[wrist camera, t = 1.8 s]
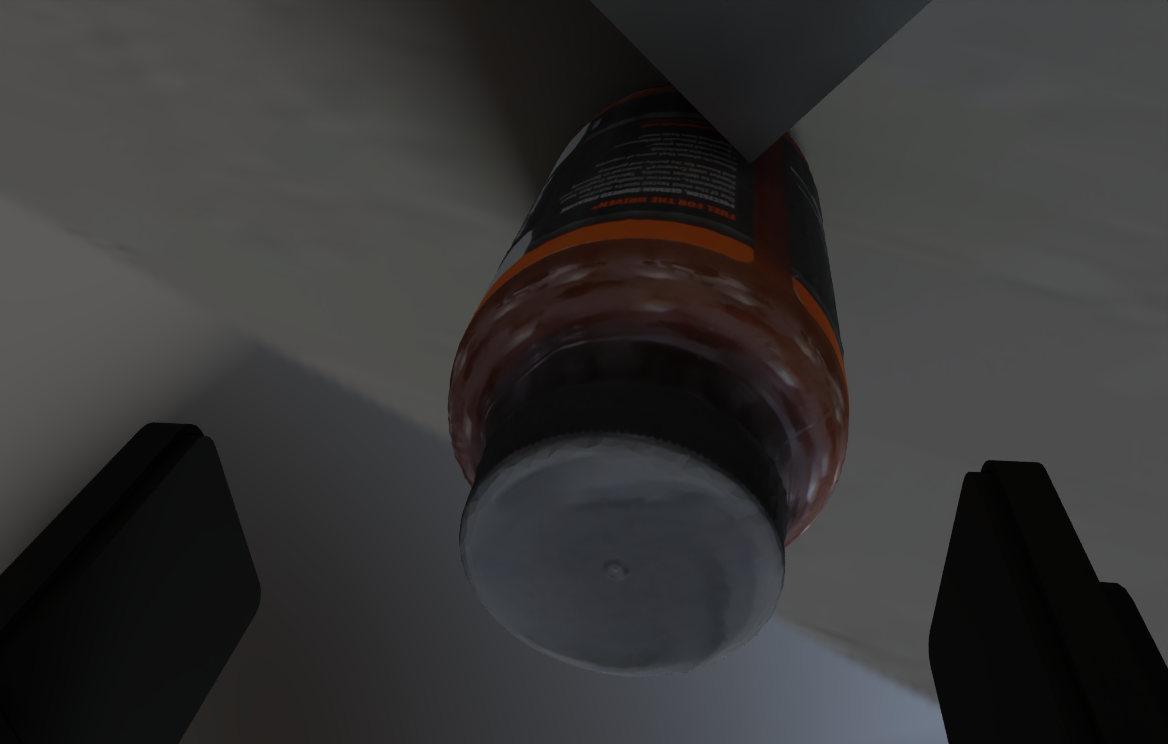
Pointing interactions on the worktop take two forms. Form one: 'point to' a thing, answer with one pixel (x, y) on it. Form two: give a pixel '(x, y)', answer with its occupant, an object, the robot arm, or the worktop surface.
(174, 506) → the robot arm
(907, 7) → the grey orange open tray
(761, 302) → the supplement bottle
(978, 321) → the worktop surface
